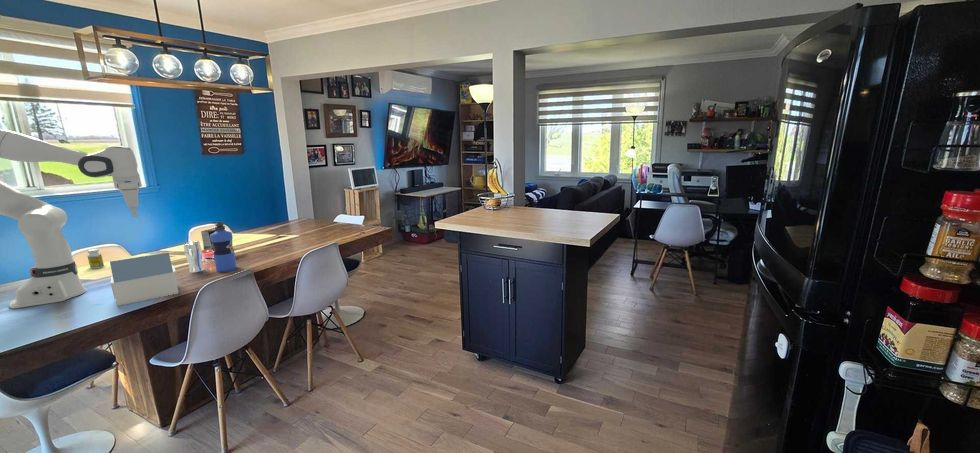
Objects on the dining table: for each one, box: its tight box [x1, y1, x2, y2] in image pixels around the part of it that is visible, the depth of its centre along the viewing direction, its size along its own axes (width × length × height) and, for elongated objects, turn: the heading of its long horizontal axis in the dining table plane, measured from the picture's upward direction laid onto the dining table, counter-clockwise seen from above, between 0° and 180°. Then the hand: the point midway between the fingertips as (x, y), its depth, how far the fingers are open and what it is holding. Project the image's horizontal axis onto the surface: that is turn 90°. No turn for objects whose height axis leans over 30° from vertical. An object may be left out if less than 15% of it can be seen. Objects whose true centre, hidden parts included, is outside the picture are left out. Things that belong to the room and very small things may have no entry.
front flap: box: [109, 252, 173, 283], centre depth 170 cm, size 19×9×1 cm
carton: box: [110, 264, 180, 307], centre depth 175 cm, size 21×14×10 cm
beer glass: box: [183, 240, 205, 274], centre depth 207 cm, size 7×7×15 cm
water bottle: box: [210, 221, 238, 273], centre depth 207 cm, size 9×9×25 cm
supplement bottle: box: [87, 248, 105, 269], centre depth 217 cm, size 5×5×10 cm
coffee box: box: [200, 227, 216, 251], centre depth 232 cm, size 9×6×16 cm
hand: (134, 215), depth 178 cm, fingers open, 8 cm apart
